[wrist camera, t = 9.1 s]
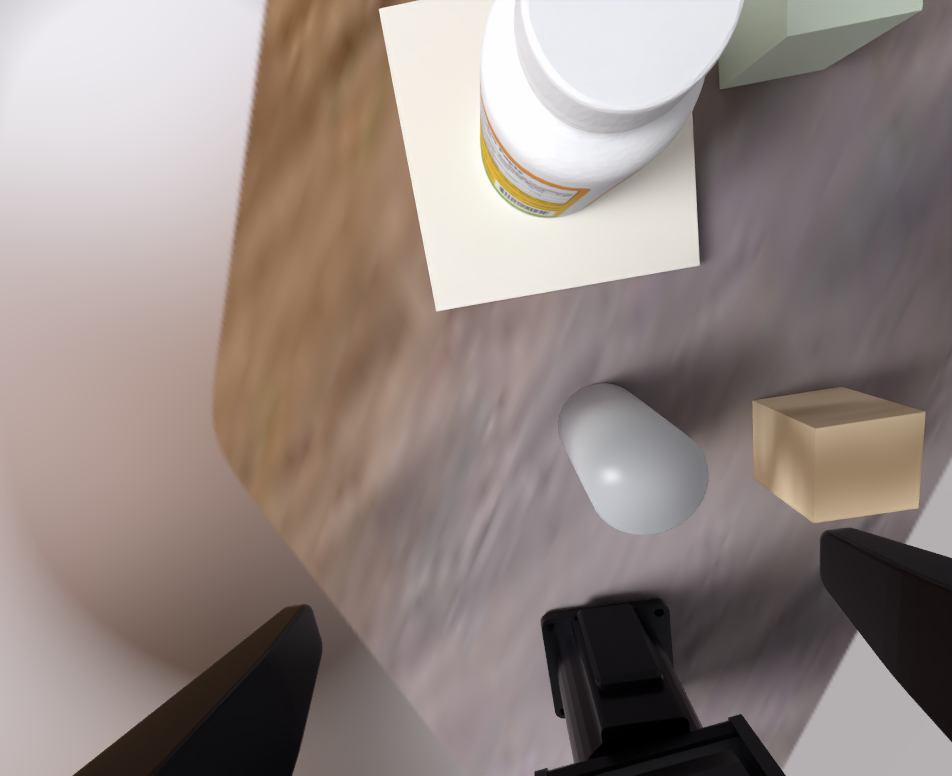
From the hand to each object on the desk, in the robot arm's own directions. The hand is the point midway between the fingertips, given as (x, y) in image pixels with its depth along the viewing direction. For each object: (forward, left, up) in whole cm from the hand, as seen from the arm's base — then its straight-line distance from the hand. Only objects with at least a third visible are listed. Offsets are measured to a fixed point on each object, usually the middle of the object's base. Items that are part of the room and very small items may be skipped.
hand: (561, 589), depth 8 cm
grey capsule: (-2, -4, -13) cm, 14 cm away
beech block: (-4, -13, -13) cm, 19 cm away
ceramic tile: (+10, -3, -13) cm, 17 cm away
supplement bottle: (+10, -3, -12) cm, 16 cm away
